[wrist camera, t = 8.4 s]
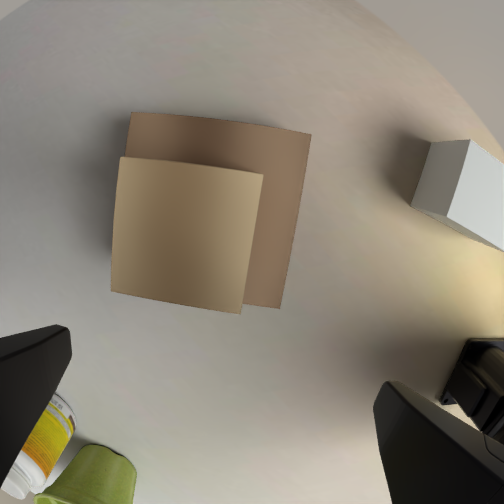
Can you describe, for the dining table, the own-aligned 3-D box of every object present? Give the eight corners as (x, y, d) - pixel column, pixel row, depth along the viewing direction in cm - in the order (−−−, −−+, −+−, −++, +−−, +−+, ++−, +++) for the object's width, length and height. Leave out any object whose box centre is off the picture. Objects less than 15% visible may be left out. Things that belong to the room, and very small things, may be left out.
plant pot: (96, 486, 26) (74, 541, 18) (50, 429, 24) (14, 487, 15) (167, 490, 26) (153, 556, 17) (124, 430, 23) (93, 506, 15)
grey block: (430, 142, 18) (489, 181, 18) (409, 206, 19) (470, 238, 19) (470, 139, 13) (531, 187, 14) (446, 216, 14) (509, 254, 15)
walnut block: (301, 140, 18) (311, 134, 15) (275, 288, 20) (279, 308, 17) (148, 120, 17) (131, 112, 14) (133, 266, 20) (115, 281, 17)
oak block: (258, 173, 15) (263, 174, 9) (243, 263, 16) (240, 314, 11) (167, 160, 15) (120, 156, 9) (156, 249, 16) (110, 291, 10)
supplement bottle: (39, 375, 22) (-23, 448, 12) (87, 416, 23) (40, 500, 13) (23, 401, 23) (-28, 466, 13) (66, 437, 24) (25, 510, 14)
